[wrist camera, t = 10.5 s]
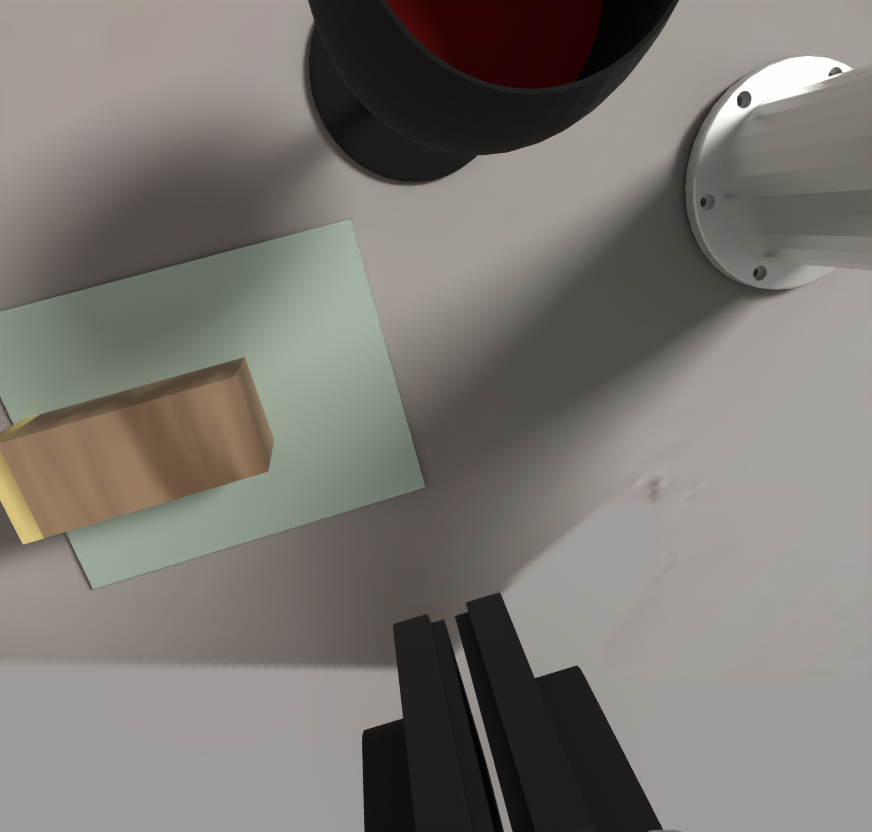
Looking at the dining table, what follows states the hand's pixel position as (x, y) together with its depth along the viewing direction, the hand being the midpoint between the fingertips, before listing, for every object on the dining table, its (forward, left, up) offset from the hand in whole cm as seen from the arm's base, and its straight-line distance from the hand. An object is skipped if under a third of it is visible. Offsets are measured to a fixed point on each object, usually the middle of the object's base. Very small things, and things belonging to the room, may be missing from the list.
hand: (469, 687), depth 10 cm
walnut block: (+6, +1, -26) cm, 27 cm away
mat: (+8, +1, -29) cm, 30 cm away
